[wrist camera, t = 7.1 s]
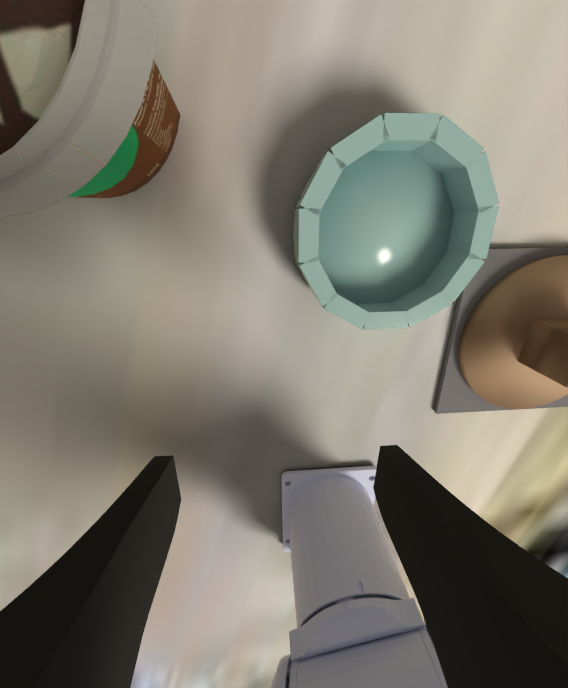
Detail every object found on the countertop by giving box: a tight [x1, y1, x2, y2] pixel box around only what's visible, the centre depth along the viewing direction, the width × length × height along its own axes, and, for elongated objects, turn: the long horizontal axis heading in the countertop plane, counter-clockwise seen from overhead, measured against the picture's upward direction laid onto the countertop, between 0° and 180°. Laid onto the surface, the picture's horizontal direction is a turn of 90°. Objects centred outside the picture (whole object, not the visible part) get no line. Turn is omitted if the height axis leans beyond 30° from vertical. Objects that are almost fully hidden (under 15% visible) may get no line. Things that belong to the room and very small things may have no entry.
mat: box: [434, 247, 568, 414], centre depth 21 cm, size 12×12×1 cm
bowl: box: [293, 113, 499, 330], centre depth 16 cm, size 10×10×3 cm
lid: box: [458, 255, 568, 409], centre depth 18 cm, size 11×11×4 cm
